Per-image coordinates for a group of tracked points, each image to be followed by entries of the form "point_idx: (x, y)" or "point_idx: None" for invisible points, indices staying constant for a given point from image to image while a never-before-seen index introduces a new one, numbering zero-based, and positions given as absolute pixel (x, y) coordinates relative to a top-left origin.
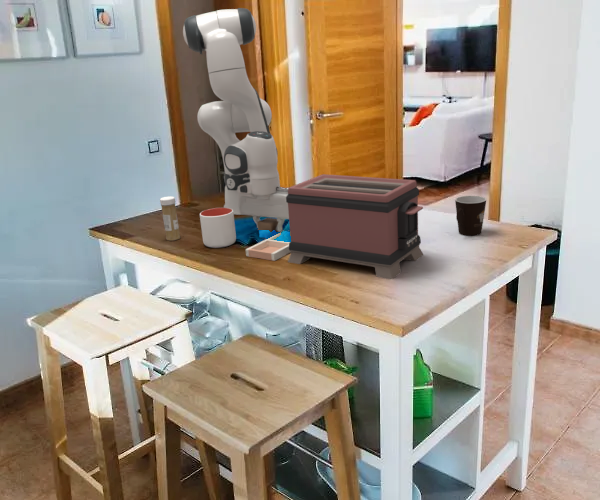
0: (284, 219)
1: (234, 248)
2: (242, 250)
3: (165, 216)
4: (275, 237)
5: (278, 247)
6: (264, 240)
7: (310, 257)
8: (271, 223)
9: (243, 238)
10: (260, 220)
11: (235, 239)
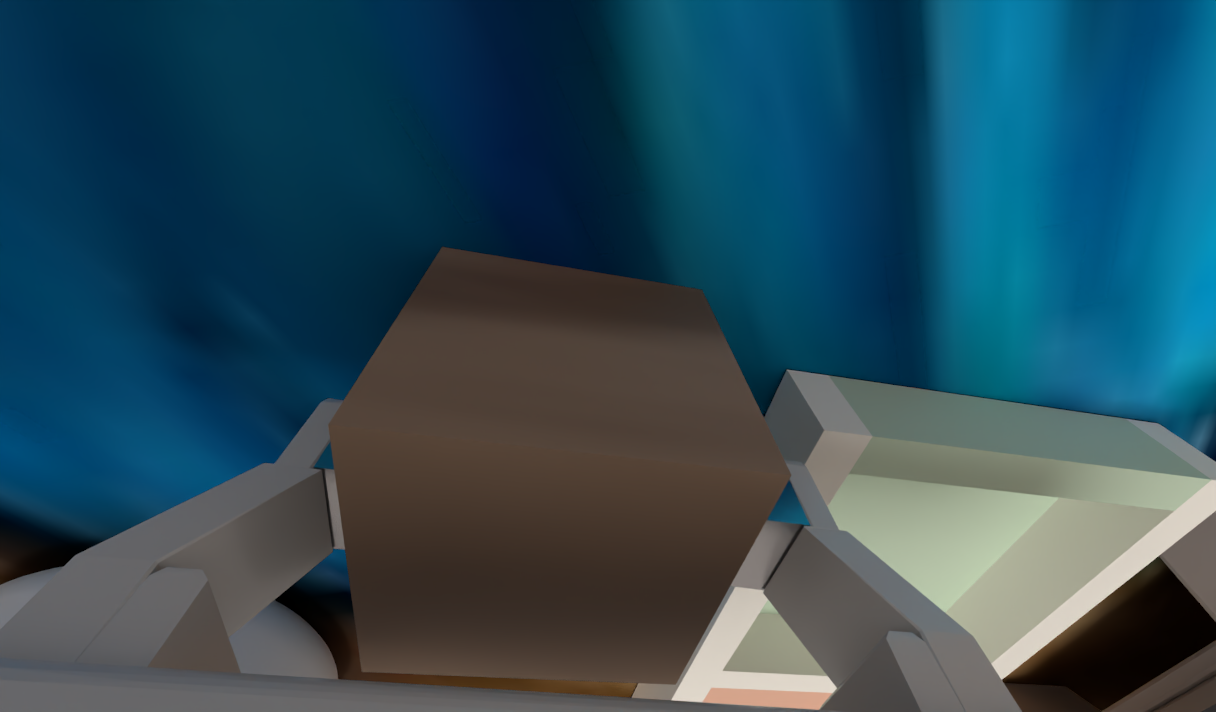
0: (976, 654)
1: (423, 679)
2: (519, 690)
3: None
4: (754, 601)
5: None
6: (681, 691)
7: (1070, 696)
8: (682, 665)
9: None
10: (260, 512)
11: (313, 656)
